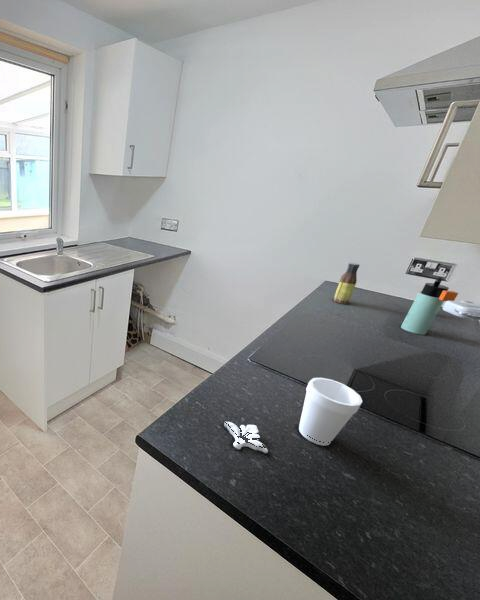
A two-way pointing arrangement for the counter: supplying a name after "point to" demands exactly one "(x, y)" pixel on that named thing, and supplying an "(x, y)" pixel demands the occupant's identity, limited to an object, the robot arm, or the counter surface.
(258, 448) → the acanthus leaf ornament
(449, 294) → the nozzle button
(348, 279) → the sauce bottle
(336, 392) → the foam cup
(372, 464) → the counter surface
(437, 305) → the sports bottle
